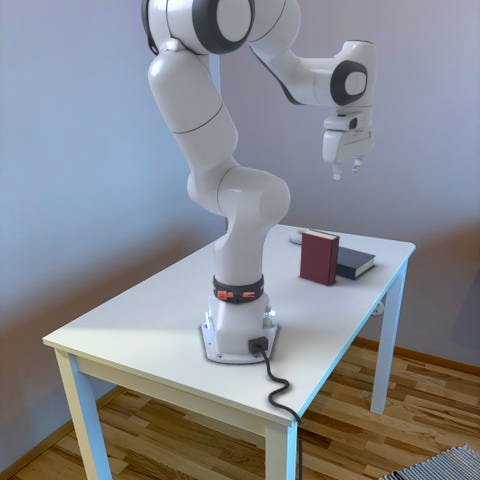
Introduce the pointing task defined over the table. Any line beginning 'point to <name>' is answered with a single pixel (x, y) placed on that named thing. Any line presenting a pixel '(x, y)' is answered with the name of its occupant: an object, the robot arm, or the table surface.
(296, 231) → the donut
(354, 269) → the slate book
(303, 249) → the burgundy book
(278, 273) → the table surface
